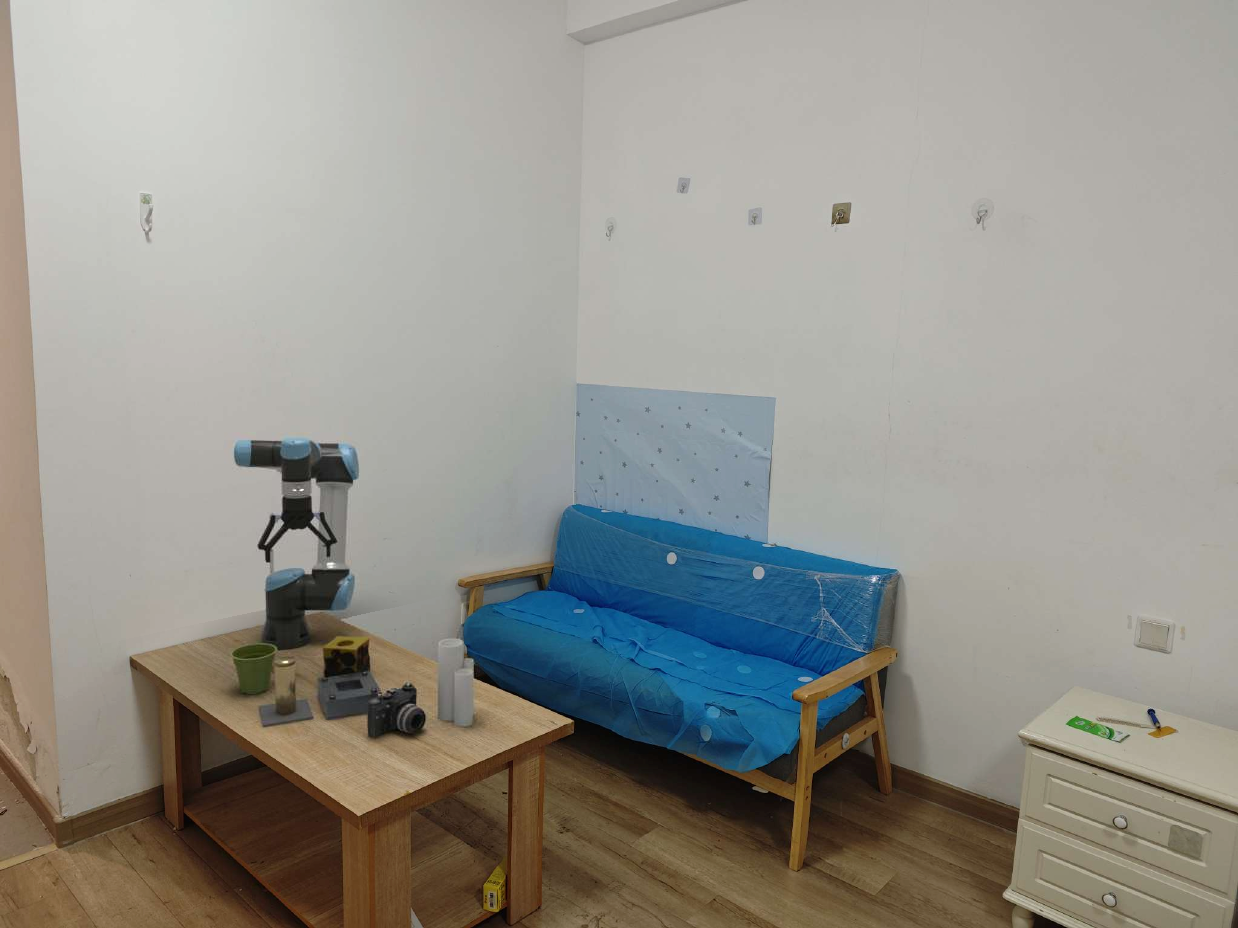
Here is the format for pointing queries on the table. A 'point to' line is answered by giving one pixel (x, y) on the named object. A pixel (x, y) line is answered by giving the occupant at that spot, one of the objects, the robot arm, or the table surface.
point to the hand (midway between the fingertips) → (298, 571)
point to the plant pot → (254, 666)
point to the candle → (346, 656)
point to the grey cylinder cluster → (455, 683)
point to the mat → (272, 718)
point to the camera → (395, 712)
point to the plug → (285, 685)
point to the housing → (347, 694)
